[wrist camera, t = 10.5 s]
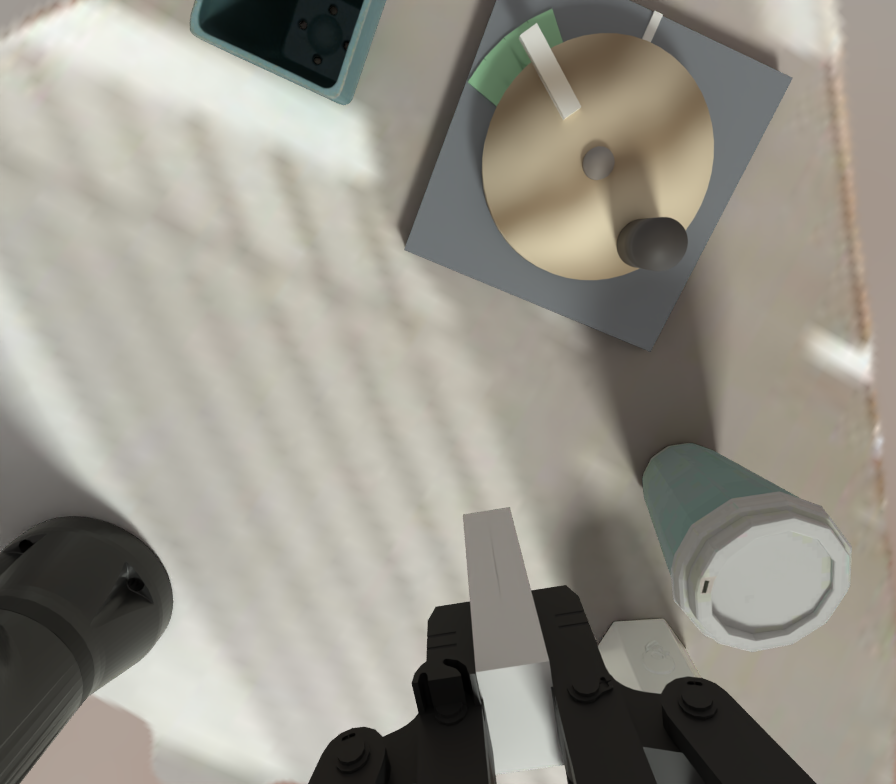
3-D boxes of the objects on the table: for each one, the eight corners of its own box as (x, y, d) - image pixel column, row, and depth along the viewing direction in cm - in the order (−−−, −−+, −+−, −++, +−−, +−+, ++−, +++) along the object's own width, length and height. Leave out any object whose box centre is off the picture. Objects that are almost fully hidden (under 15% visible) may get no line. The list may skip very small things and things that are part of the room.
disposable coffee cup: (756, 425, 45) (898, 516, 30) (727, 542, 48) (843, 675, 33) (626, 414, 45) (707, 501, 30) (605, 532, 48) (669, 661, 33)
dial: (427, 112, 37) (422, 90, 31) (625, -31, 35) (659, -84, 29) (551, 318, 41) (566, 332, 35) (738, 202, 38) (787, 196, 33)
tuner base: (406, 249, 41) (403, 249, 40) (513, -43, 36) (516, -56, 34) (643, 348, 43) (651, 352, 42) (780, 83, 38) (794, 77, 36)
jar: (687, 613, 50) (757, 727, 38) (685, 686, 52) (750, 815, 41) (588, 619, 50) (627, 734, 39) (590, 691, 52) (627, 821, 41)
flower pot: (363, 130, 39) (337, 101, 31) (246, 76, 38) (185, 31, 30) (410, -1, 37) (396, -73, 28) (286, -62, 36) (232, -154, 27)
